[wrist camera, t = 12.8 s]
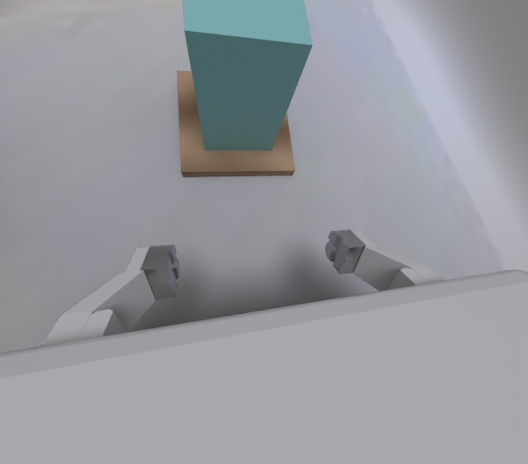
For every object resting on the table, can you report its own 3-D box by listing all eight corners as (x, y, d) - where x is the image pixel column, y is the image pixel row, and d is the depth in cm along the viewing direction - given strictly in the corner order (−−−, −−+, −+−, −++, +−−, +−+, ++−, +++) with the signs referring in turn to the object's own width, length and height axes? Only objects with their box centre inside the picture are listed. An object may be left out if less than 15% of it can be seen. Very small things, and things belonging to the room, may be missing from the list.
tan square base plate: (292, 174, 19) (334, 114, 12) (183, 176, 17) (151, 105, 10) (279, 86, 21) (309, -16, 14) (179, 78, 19) (148, -47, 12)
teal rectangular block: (271, 150, 19) (312, 45, 10) (205, 150, 17) (184, 30, 9) (264, 94, 20) (295, -46, 11) (200, 90, 18) (177, -71, 10)
